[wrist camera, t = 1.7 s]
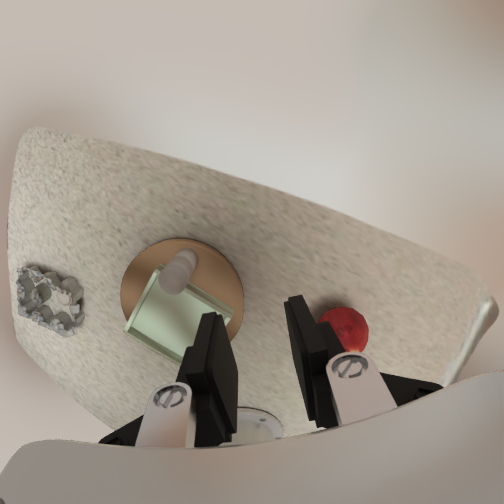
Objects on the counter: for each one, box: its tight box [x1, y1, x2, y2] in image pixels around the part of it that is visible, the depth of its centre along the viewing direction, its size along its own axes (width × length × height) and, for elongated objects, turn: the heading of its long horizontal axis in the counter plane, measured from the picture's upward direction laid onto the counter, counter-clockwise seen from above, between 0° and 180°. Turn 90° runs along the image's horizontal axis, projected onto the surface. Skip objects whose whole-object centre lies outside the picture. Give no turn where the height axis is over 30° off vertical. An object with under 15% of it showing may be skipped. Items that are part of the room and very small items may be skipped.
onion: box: [318, 307, 369, 353], centre depth 28 cm, size 6×6×8 cm
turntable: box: [120, 238, 244, 366], centre depth 26 cm, size 13×13×8 cm
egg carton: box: [16, 265, 84, 337], centre depth 29 cm, size 11×8×4 cm
